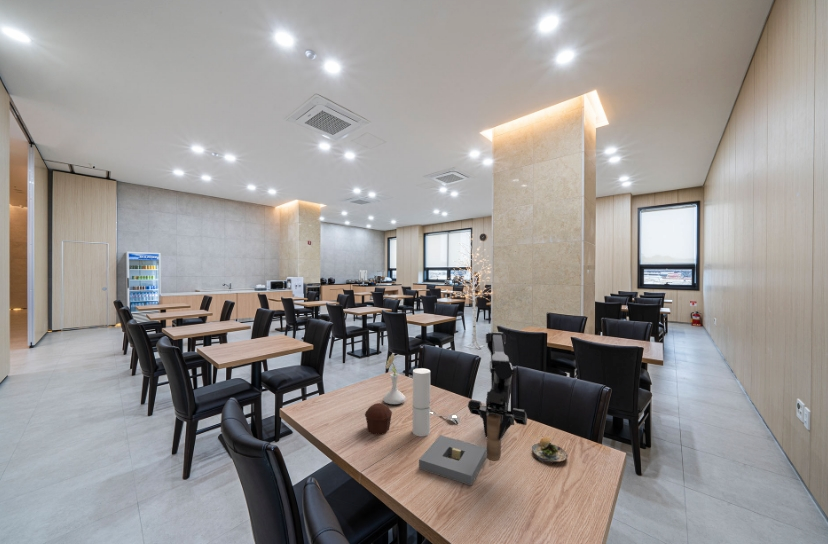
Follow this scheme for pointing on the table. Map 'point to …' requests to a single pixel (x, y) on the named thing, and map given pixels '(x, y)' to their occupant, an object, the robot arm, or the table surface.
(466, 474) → the hub plate
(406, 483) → the table surface
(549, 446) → the plate of food
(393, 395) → the flower in vase
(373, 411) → the muffin
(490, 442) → the walnut peg
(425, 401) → the cylindrical container
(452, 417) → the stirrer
